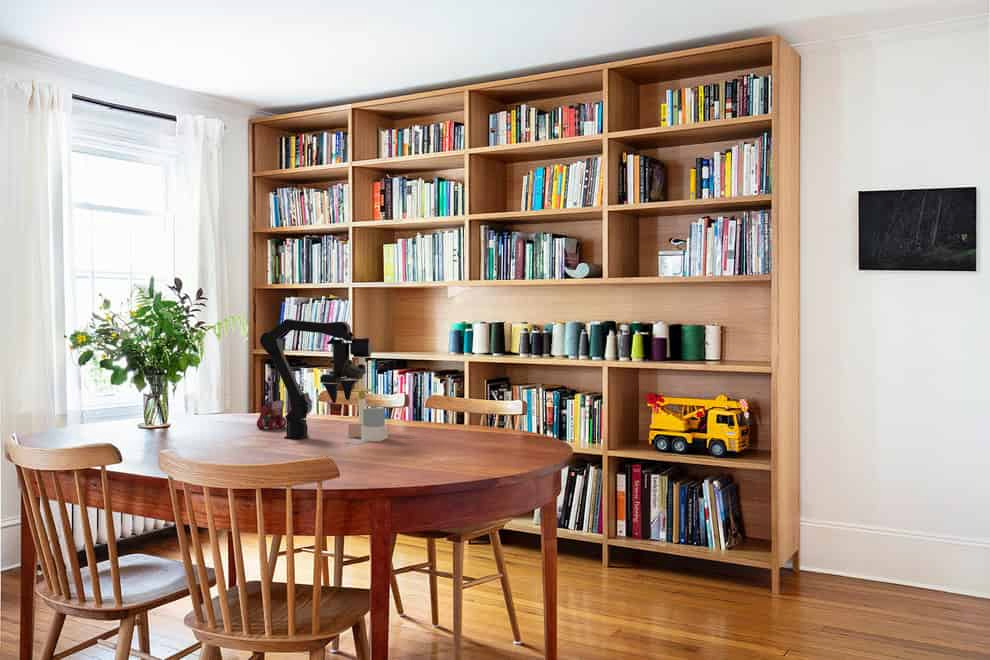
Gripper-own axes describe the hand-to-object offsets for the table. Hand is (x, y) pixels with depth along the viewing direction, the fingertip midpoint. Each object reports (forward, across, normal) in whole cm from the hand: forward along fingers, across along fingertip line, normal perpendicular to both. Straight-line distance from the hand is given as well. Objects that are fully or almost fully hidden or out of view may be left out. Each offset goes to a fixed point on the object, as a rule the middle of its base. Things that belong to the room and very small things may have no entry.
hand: (341, 401), depth 309 cm
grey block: (+8, +2, -12) cm, 15 cm away
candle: (+13, +19, +2) cm, 23 cm away
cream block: (+13, +2, -12) cm, 18 cm away
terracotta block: (+13, +6, -3) cm, 15 cm away
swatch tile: (+13, -6, -9) cm, 17 cm away
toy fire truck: (+13, +12, +37) cm, 41 cm away
